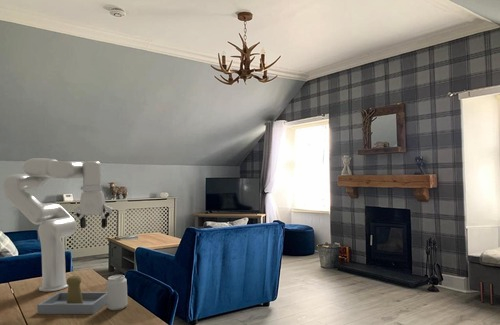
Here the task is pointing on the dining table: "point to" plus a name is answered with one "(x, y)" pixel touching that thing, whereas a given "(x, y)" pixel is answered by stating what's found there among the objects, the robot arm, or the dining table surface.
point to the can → (116, 292)
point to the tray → (60, 306)
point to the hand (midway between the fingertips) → (93, 227)
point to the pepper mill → (74, 290)
